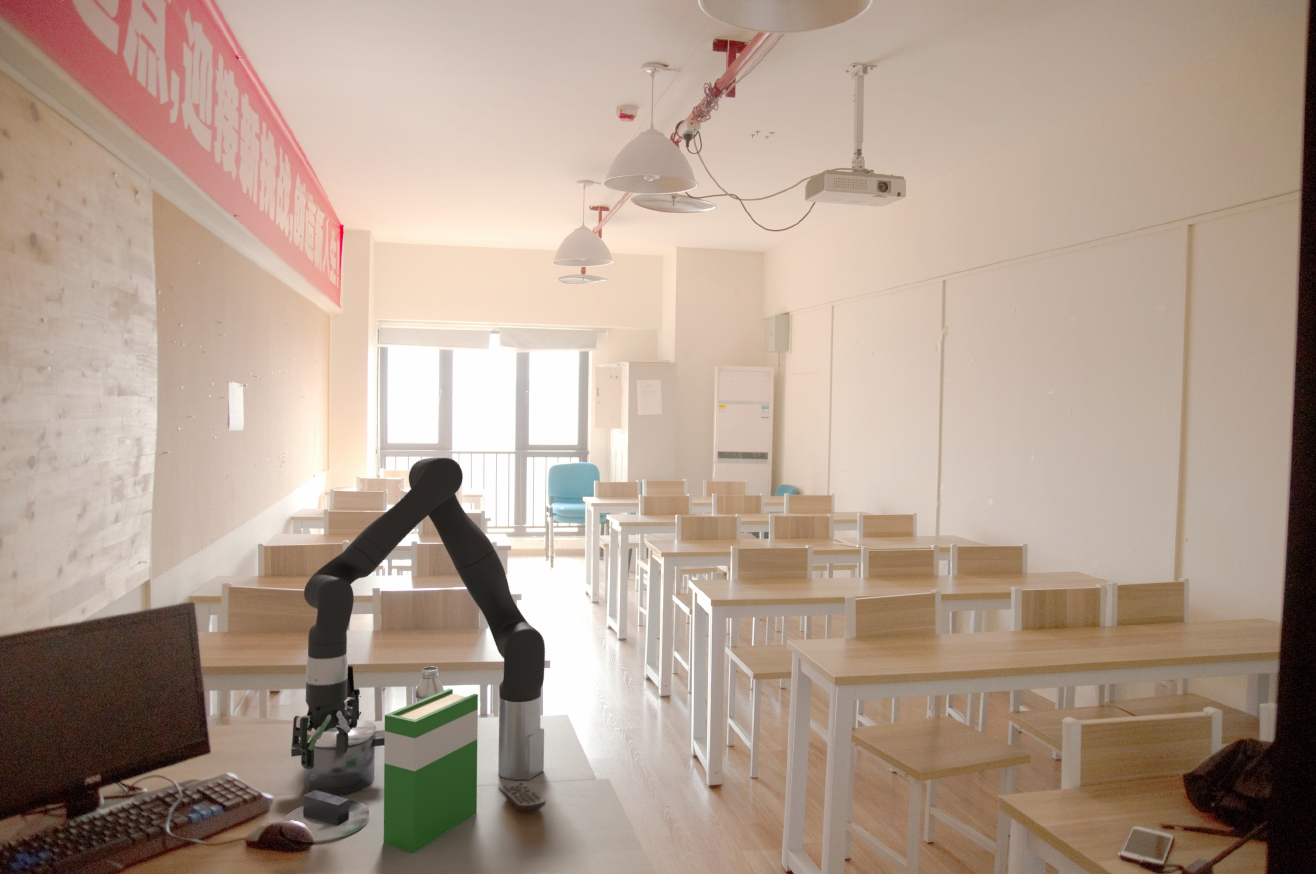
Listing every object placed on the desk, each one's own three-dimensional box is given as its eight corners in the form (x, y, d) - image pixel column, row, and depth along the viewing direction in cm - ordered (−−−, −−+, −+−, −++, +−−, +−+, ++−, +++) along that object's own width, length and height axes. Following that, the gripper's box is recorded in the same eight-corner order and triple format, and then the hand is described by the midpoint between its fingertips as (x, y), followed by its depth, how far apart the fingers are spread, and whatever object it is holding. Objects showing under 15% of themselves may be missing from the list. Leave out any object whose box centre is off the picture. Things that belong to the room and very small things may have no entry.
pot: (385, 762, 192) (385, 714, 192) (389, 789, 179) (389, 737, 178) (292, 774, 185) (293, 724, 185) (289, 802, 171) (290, 749, 171)
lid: (386, 815, 168) (387, 789, 167) (324, 852, 153) (324, 824, 153) (326, 798, 174) (327, 773, 174) (261, 832, 160) (262, 805, 160)
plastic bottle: (436, 759, 194) (437, 673, 194) (409, 756, 196) (410, 671, 195) (448, 748, 201) (449, 665, 200) (422, 746, 202) (423, 663, 202)
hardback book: (447, 805, 172) (449, 688, 171) (476, 813, 168) (477, 694, 168) (383, 843, 156) (384, 715, 155) (413, 853, 152) (415, 722, 152)
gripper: (312, 690, 155) (311, 777, 155) (368, 670, 168) (366, 750, 168) (283, 684, 158) (281, 769, 158) (339, 665, 171) (338, 744, 171)
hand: (325, 760), depth 163 cm, fingers open, 8 cm apart
